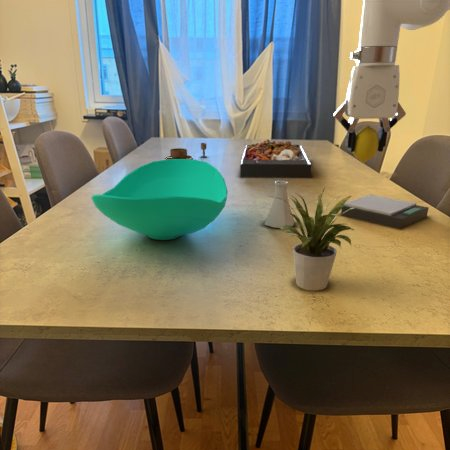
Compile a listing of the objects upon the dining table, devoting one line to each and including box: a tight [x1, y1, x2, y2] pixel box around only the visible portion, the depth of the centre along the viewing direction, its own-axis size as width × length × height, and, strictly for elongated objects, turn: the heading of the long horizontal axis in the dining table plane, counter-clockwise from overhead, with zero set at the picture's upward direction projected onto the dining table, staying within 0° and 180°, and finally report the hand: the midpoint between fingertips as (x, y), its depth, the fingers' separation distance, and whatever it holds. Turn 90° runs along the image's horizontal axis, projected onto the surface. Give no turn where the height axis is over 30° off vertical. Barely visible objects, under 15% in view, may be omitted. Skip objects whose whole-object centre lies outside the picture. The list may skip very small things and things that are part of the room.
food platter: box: [239, 139, 313, 179], centre depth 169 cm, size 45×25×10 cm, turn 175°
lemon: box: [352, 125, 379, 164], centre depth 96 cm, size 6×6×8 cm
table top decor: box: [91, 159, 229, 241], centre depth 94 cm, size 40×28×13 cm
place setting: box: [164, 142, 208, 160], centre depth 181 cm, size 18×20×6 cm
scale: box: [340, 194, 429, 230], centre depth 108 cm, size 16×14×3 cm
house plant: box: [269, 187, 357, 292], centre depth 70 cm, size 14×14×16 cm
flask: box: [263, 180, 295, 229], centre depth 101 cm, size 7×7×10 cm
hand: (364, 150), depth 96 cm, fingers closed on lemon, 5 cm apart
